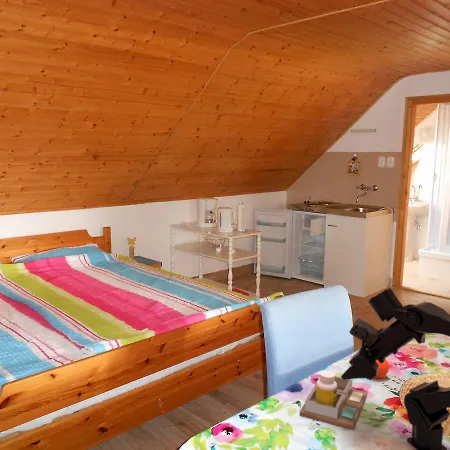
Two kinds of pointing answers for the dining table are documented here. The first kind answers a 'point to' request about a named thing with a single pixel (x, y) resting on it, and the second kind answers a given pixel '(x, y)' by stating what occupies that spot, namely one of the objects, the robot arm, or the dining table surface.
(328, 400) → the supplement bottle
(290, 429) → the dining table surface
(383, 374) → the clementine
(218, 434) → the dining table surface
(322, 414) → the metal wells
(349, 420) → the socket board
